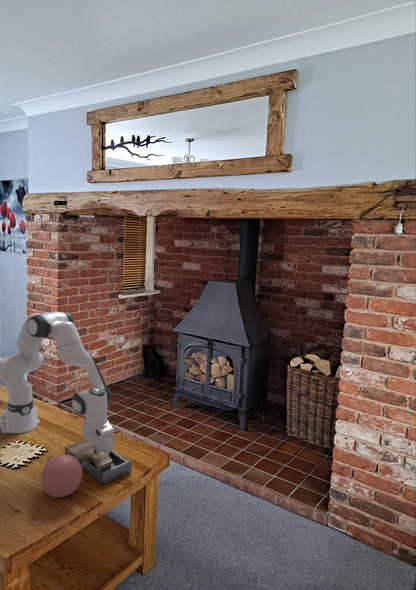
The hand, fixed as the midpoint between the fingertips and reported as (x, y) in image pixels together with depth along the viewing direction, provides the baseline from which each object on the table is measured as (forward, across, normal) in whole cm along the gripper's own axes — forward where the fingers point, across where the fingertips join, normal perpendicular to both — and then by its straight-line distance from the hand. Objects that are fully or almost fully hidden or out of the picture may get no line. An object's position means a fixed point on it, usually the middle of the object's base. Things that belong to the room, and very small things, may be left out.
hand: (96, 453), depth 189 cm
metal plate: (+4, -9, 0) cm, 10 cm away
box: (+4, +8, 0) cm, 9 cm away
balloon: (+5, +7, -21) cm, 23 cm away
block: (+2, +4, 0) cm, 4 cm away
